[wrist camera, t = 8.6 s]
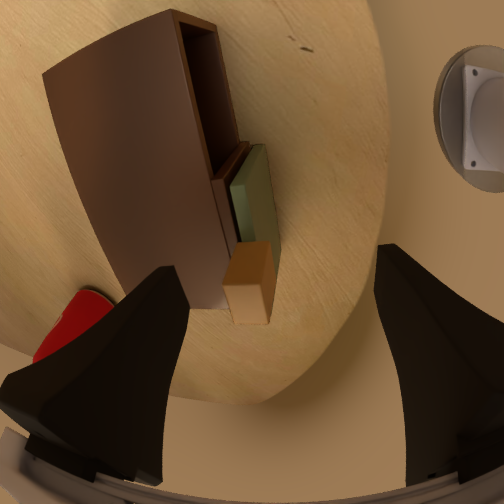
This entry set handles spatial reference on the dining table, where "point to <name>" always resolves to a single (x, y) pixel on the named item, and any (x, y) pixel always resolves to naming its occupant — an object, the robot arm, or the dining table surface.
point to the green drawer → (253, 243)
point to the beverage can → (74, 321)
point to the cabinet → (154, 150)
